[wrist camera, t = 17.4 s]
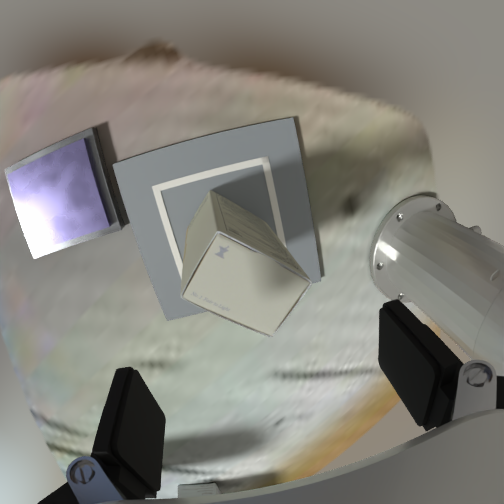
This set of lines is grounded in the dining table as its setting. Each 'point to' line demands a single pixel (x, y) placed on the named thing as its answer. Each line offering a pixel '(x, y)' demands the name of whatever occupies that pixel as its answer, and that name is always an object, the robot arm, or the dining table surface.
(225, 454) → the dining table surface
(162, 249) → the card
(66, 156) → the ink pad
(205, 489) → the supplement box
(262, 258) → the skincare box
